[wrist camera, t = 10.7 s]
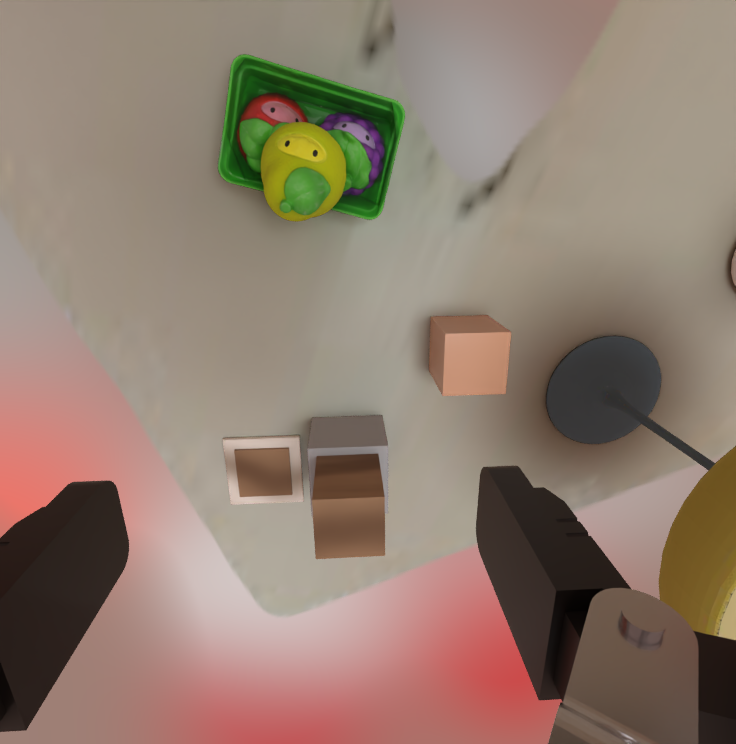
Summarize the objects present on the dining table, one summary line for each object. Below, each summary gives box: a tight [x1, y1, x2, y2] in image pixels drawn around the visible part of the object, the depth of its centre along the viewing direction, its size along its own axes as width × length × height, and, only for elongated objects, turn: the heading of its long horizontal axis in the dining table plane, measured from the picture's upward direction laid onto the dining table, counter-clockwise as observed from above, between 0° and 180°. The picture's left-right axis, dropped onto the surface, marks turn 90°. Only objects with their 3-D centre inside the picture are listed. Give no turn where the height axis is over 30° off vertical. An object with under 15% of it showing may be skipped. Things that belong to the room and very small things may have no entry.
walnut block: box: [312, 454, 385, 559], centre depth 35 cm, size 5×5×6 cm
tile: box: [223, 435, 304, 505], centre depth 44 cm, size 7×7×1 cm
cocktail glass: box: [546, 336, 736, 640], centre depth 31 cm, size 18×18×25 cm
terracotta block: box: [429, 315, 511, 396], centre depth 38 cm, size 5×5×6 cm
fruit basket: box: [218, 54, 405, 221], centre depth 30 cm, size 11×9×11 cm
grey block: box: [308, 415, 388, 517], centre depth 41 cm, size 6×6×6 cm
